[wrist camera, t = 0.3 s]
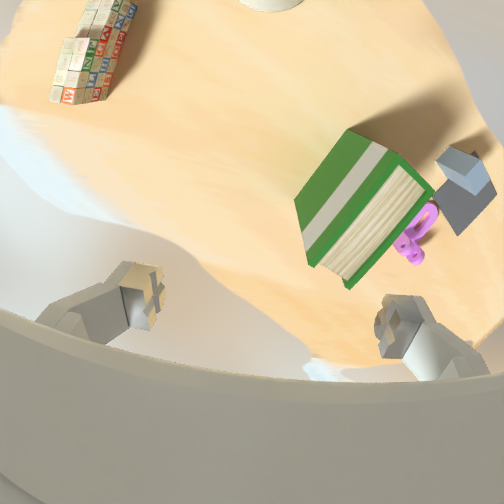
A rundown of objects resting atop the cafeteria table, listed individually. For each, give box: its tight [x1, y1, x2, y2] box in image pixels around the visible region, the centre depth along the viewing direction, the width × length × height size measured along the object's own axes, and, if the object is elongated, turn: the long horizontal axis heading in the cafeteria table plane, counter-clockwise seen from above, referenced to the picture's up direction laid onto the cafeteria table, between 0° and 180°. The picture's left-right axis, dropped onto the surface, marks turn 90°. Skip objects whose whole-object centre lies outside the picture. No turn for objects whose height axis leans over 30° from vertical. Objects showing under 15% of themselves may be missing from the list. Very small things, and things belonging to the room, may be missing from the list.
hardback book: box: [294, 130, 435, 290], centre depth 44 cm, size 18×7×24 cm, turn 148°
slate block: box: [434, 146, 490, 196], centre depth 46 cm, size 5×5×12 cm
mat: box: [432, 151, 497, 236], centre depth 54 cm, size 14×16×1 cm
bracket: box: [393, 202, 438, 265], centre depth 56 cm, size 13×6×7 cm, turn 148°
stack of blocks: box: [49, 0, 137, 105], centre depth 38 cm, size 21×6×12 cm, turn 160°
